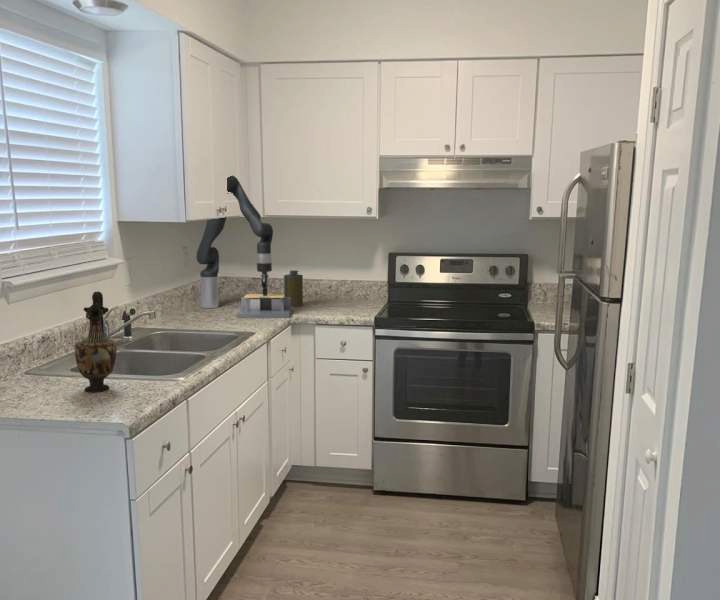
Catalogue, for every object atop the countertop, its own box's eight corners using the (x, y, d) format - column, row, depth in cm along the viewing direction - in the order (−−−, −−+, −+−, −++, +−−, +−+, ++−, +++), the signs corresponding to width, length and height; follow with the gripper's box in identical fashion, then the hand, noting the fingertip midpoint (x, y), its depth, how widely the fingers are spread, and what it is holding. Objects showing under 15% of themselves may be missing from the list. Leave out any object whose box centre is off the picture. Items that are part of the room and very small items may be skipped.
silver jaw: (251, 308, 321) (251, 297, 320) (260, 308, 321) (260, 297, 321) (250, 310, 316) (250, 299, 315) (260, 310, 317) (259, 299, 316)
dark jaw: (272, 308, 322) (272, 297, 321) (281, 308, 322) (281, 297, 321) (271, 310, 317) (271, 299, 316) (281, 310, 317) (281, 299, 316)
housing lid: (247, 295, 324) (247, 293, 324) (284, 295, 325) (284, 293, 325) (244, 298, 310) (243, 296, 309) (283, 298, 311) (283, 296, 311)
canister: (297, 303, 351) (297, 269, 348) (306, 306, 343) (306, 271, 340) (280, 305, 346) (280, 270, 342) (289, 307, 337) (288, 272, 334)
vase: (71, 395, 182) (64, 296, 177) (86, 383, 194) (80, 290, 189) (111, 394, 183) (106, 296, 178) (124, 382, 195) (119, 290, 190)
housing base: (241, 311, 325) (241, 295, 324) (290, 311, 327) (290, 295, 326) (237, 318, 306) (236, 301, 304) (289, 317, 308) (288, 301, 306)
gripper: (270, 263, 306) (271, 297, 309) (272, 261, 319) (273, 293, 322) (255, 263, 306) (256, 297, 308) (258, 261, 319) (259, 294, 321)
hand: (265, 295), depth 315 cm, fingers closed
